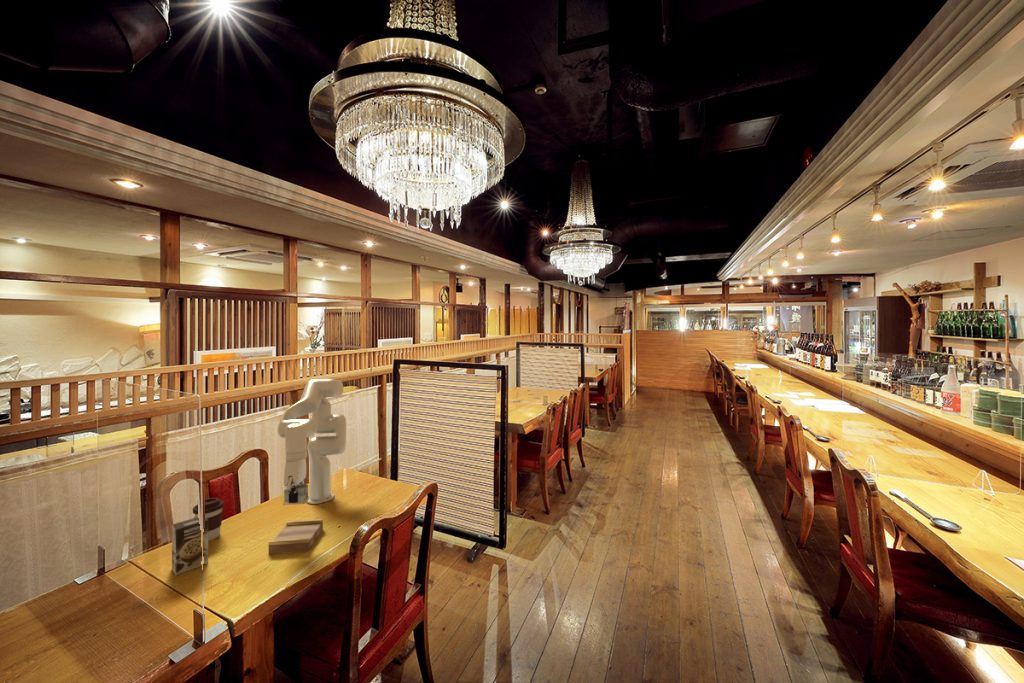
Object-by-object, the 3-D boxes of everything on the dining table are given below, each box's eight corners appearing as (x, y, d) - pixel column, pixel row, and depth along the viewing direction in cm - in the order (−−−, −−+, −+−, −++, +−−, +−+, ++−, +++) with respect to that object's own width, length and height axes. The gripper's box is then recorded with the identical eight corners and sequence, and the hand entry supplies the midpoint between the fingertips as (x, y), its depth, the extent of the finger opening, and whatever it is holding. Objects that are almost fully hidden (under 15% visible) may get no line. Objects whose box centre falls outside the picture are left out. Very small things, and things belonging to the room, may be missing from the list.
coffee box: (175, 576, 127) (175, 529, 127) (171, 569, 131) (171, 524, 131) (209, 563, 135) (208, 519, 134) (203, 557, 139) (203, 514, 138)
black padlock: (288, 499, 151) (288, 484, 151) (309, 498, 152) (309, 483, 152) (282, 505, 146) (282, 489, 146) (304, 504, 147) (304, 488, 147)
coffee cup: (210, 544, 147) (210, 506, 147) (186, 544, 147) (185, 506, 147) (230, 531, 157) (229, 496, 157) (207, 530, 157) (206, 495, 157)
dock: (287, 532, 156) (287, 521, 156) (322, 529, 158) (322, 518, 158) (268, 554, 141) (268, 542, 140) (308, 551, 143) (307, 539, 143)
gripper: (295, 448, 157) (295, 491, 157) (275, 462, 140) (276, 510, 140) (314, 447, 158) (314, 490, 158) (297, 461, 141) (297, 508, 141)
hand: (296, 499), depth 149 cm, fingers closed on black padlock, 4 cm apart
